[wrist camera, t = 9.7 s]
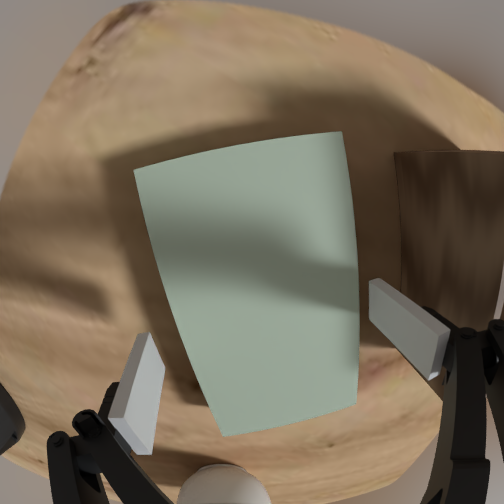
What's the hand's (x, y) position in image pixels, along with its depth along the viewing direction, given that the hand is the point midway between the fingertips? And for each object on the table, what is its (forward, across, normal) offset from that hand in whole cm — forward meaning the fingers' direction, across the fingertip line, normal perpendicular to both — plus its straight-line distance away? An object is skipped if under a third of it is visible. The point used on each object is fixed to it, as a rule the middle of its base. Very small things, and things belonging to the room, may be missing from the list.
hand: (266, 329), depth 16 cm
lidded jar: (+4, -8, -23) cm, 25 cm away
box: (+4, +16, 0) cm, 16 cm away
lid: (+3, +1, 0) cm, 3 cm away
